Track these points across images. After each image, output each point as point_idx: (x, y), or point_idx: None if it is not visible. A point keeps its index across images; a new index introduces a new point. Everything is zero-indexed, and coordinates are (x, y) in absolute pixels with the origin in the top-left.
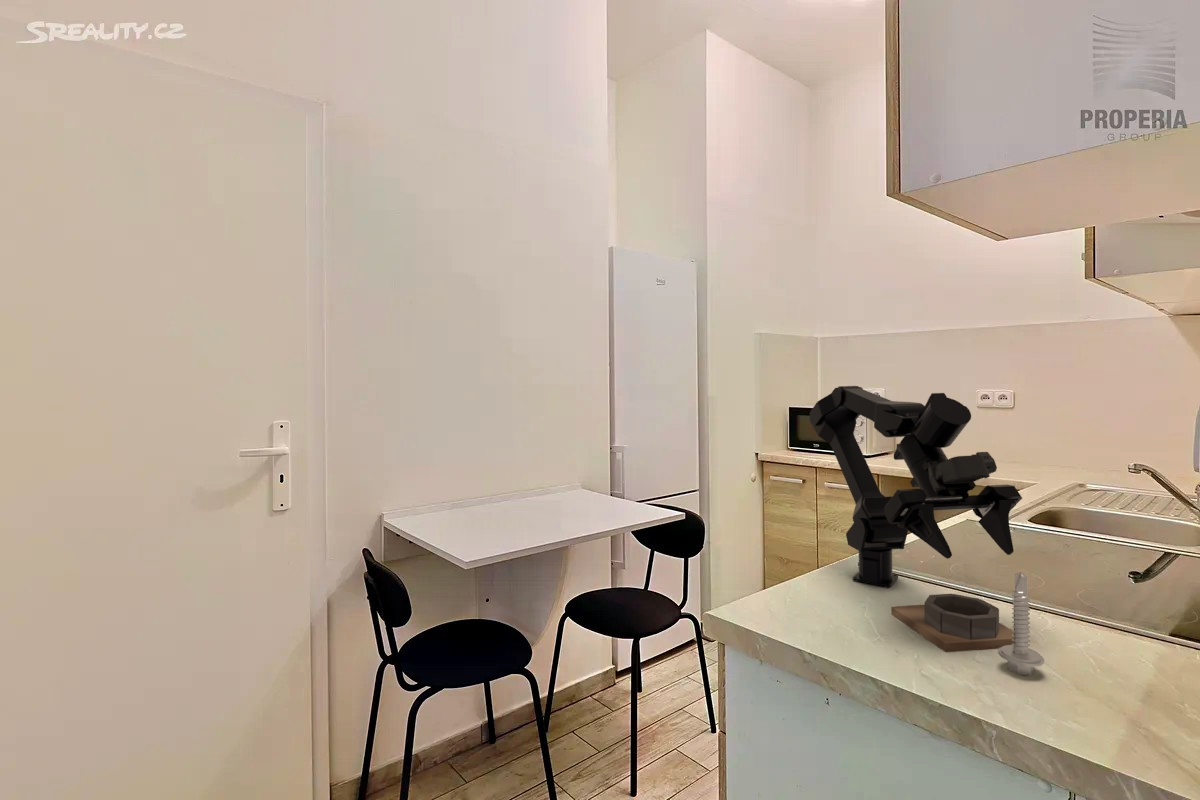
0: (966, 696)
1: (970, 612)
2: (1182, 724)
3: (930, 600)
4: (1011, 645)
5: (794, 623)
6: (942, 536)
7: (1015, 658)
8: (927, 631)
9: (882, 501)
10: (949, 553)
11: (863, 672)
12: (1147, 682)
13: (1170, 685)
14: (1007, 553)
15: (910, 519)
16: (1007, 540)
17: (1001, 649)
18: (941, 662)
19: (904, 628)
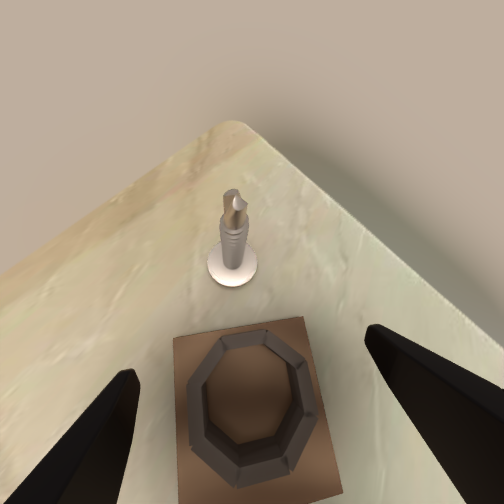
0: (318, 219)
1: (214, 430)
2: (153, 174)
3: (302, 432)
4: (231, 281)
5: None
6: (447, 377)
7: (248, 247)
8: (313, 362)
9: None
10: (380, 326)
11: (406, 266)
12: (105, 239)
13: (85, 233)
14: (139, 385)
15: None
16: (104, 414)
17: (252, 269)
18: (315, 288)
19: (330, 405)
